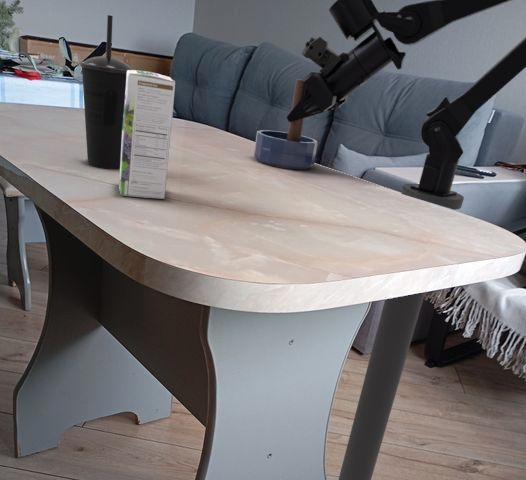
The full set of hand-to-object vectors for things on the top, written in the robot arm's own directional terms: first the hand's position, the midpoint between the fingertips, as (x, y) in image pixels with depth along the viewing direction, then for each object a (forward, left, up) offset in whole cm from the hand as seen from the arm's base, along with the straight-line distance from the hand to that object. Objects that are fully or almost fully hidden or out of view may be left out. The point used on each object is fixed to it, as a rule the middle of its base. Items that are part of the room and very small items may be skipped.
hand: (289, 119), depth 114 cm
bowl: (-1, 0, -8) cm, 8 cm away
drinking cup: (+37, -4, -8) cm, 39 cm away
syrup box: (+42, +11, -8) cm, 45 cm away
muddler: (-1, +1, -7) cm, 7 cm away
